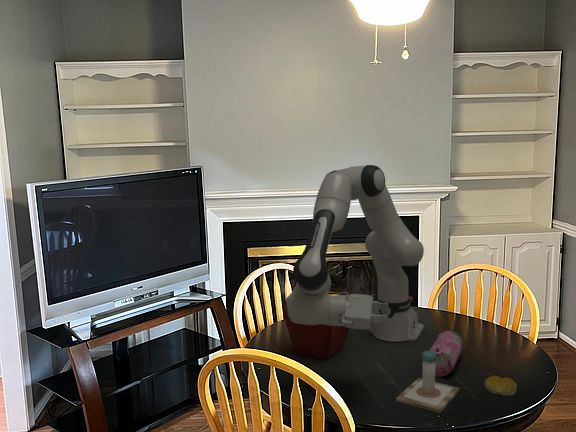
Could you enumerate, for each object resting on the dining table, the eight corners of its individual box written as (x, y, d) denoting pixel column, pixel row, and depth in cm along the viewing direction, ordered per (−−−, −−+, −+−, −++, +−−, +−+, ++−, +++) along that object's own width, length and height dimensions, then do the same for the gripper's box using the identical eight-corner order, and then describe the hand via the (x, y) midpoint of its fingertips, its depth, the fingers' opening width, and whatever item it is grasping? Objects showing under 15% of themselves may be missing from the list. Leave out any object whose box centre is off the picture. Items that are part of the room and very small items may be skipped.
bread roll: (487, 382, 187) (488, 369, 187) (518, 388, 183) (519, 375, 182) (481, 392, 180) (481, 380, 180) (512, 399, 176) (513, 386, 175)
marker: (424, 388, 181) (425, 349, 179) (437, 391, 178) (437, 352, 176) (419, 392, 177) (420, 354, 175) (432, 396, 175) (433, 356, 173)
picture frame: (418, 380, 188) (418, 376, 188) (459, 391, 181) (459, 387, 181) (396, 401, 175) (396, 397, 175) (439, 413, 168) (439, 409, 168)
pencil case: (451, 381, 188) (452, 353, 186) (421, 376, 192) (422, 348, 190) (464, 356, 207) (465, 330, 205) (437, 351, 211) (437, 326, 209)
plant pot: (356, 346, 217) (356, 301, 214) (332, 365, 200) (331, 317, 198) (309, 337, 226) (308, 293, 223) (282, 355, 210) (281, 308, 207)
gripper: (336, 312, 168) (387, 314, 165) (343, 290, 188) (388, 291, 185) (337, 334, 169) (387, 335, 166) (343, 309, 189) (388, 311, 186)
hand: (388, 312), depth 176 cm, fingers open, 8 cm apart
